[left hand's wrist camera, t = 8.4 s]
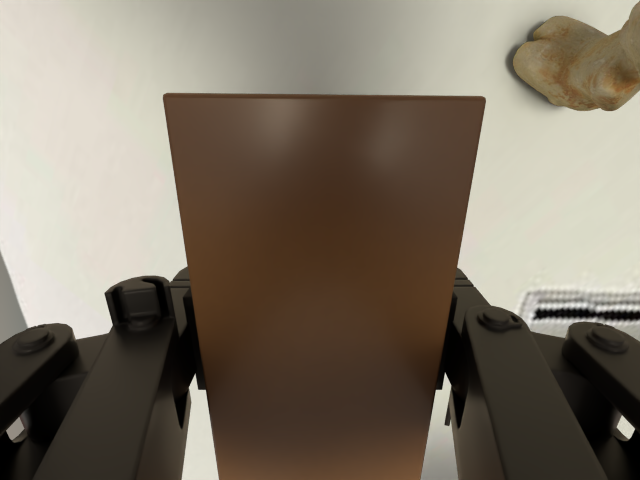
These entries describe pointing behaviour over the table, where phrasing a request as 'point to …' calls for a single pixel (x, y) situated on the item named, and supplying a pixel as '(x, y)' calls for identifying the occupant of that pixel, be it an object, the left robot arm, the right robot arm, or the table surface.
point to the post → (322, 272)
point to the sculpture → (582, 63)
